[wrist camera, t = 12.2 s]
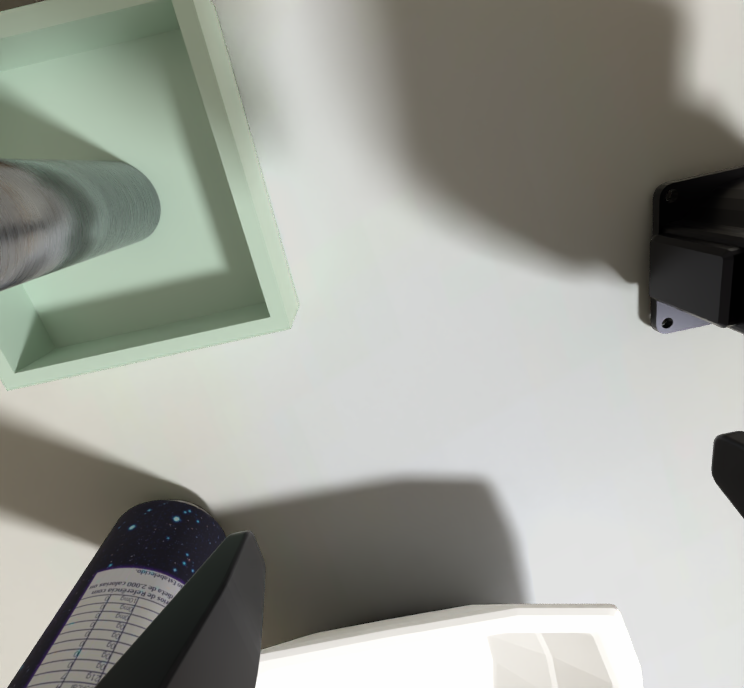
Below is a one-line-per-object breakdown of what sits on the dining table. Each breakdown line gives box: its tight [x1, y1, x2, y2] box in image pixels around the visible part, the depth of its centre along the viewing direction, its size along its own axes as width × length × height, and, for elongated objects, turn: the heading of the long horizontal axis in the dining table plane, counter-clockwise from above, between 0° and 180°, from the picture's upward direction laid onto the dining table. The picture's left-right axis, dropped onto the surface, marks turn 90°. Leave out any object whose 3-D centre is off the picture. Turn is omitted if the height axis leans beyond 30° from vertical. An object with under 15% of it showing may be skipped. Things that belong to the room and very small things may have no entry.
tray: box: [0, 0, 299, 391], centre depth 16 cm, size 11×11×3 cm
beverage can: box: [8, 500, 226, 688], centre depth 18 cm, size 6×6×12 cm
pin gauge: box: [0, 158, 161, 291], centre depth 12 cm, size 3×3×10 cm
